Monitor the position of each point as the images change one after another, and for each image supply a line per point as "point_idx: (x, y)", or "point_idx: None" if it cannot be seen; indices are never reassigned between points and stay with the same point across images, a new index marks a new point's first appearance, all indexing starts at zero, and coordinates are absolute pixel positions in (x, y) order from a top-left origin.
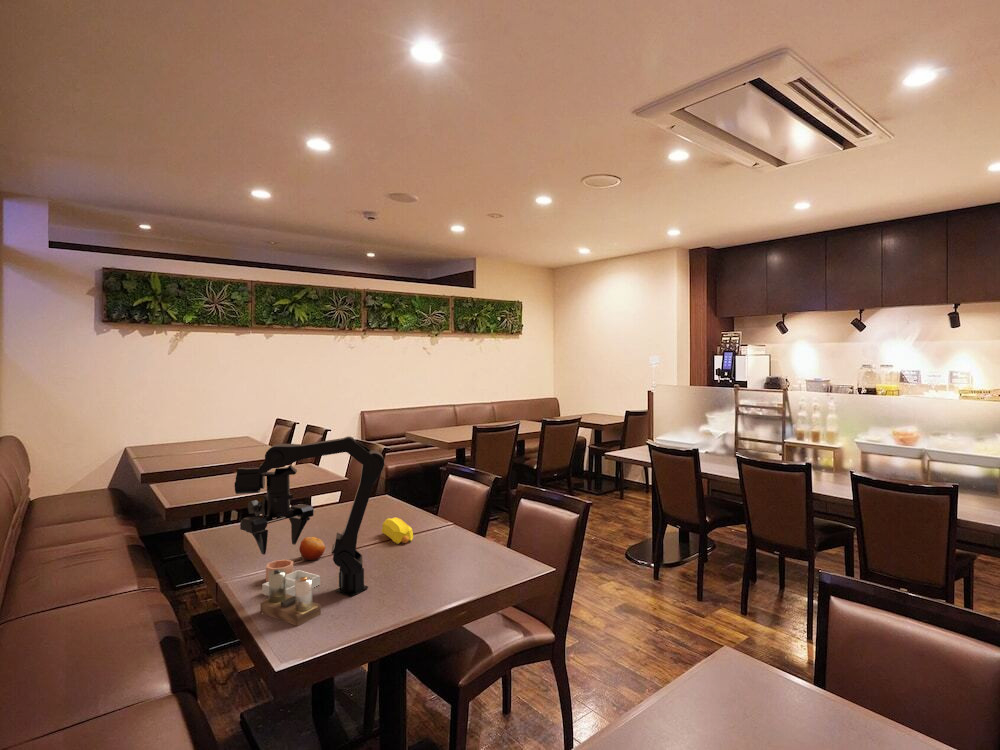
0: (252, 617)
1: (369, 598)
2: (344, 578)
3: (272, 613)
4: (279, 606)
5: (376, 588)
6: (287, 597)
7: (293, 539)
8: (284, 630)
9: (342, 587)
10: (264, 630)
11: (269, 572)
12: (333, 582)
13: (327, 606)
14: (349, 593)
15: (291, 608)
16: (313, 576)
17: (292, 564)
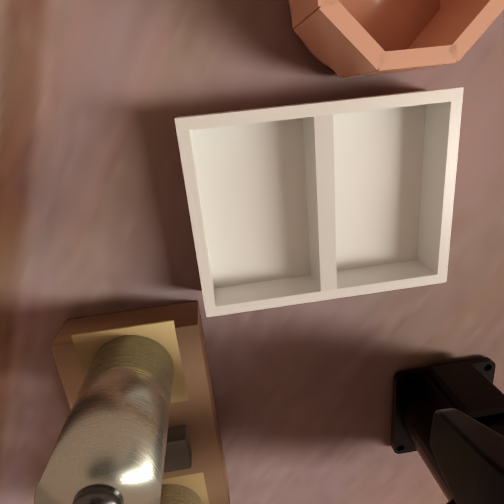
0: (20, 333)
1: (412, 490)
2: (433, 467)
3: None
4: None
5: None
6: (180, 381)
7: (471, 491)
8: None
9: (411, 419)
10: (16, 460)
11: (53, 468)
12: (472, 278)
13: (285, 450)
14: (400, 439)
15: None
16: (434, 240)
17: (465, 52)
